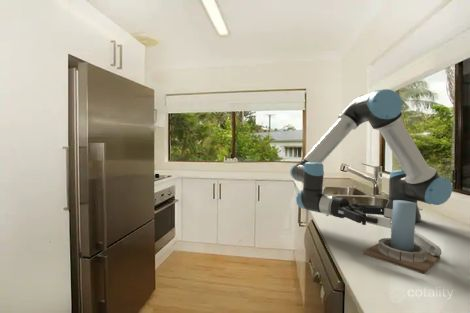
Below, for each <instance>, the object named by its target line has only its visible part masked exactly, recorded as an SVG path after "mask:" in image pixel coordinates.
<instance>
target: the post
mask: <svg viewBox="0 0 470 313" xmlns="http://www.w3.org/2000/svg"><path fill="white" fill-rule="evenodd" d="M415 217H416V203H414V202H410V201H404V200H393V212H392V219H391V223H392V229H391V228H390V230H391V231H390V238H391V245H390V247H391V248H394V249H397V250H400V251H407V252H413V248H414V243H415V242H414V233H415V231H416V222H415Z"/></svg>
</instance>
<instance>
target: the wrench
mask: <svg viewBox="0 0 470 313" xmlns="http://www.w3.org/2000/svg"><path fill="white" fill-rule="evenodd" d="M391 220H392V218H391ZM391 229H392V222H391V228H390V230H391ZM414 243H417V244H419V245H421V246H423V247H425V248H426V250H427V252H429V253H430V254H431V255H433V256H440V257H441V255H442V248H441V247H440V246H439V245H437V244H435V242H433V241H431V240H429V239H428V238H426V237H425V236H424V235H422V234H420V233H419V232H417V231H416V230H415V233H414Z"/></svg>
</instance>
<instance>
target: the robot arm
mask: <svg viewBox="0 0 470 313" xmlns="http://www.w3.org/2000/svg"><path fill="white" fill-rule="evenodd" d="M403 105H404V104H403V99H402V97H401V96H400V95H399V94H398V92H396V91H394V90H392V89H389V88H388V89H387V88H386V89H377V90H375V91H371V92H369V93H366V94H362V95H359V96H357V97H355V98H354V99H353V100H351V102H349V104H348V105H347V106H346V107H345V108H344V109H343V110H342V112H340V113H339V115H338V116H337V118H338V119H337V120H336V121H335V122H334V124H333V125H332V126H331V127H330V128H329V129H328V130H327V131H326V132H325V134H323V136H322V137H321V138H320V139H319V140H318V141H317V142H316V143H315V145H314V146H312V147H311V148H312V149H311V150H309V151H308V153H307V154H306V155H305V156H304V157H303V158H302V159H301V160H300V162H298V163H295V164H293V165H292V166H291V168H290V170H289V174H290V176H291V178H292V179H294V180H295V181H297V182H301V183H302V184H303V186H302V187H303V189H302V190H300V191H298V192H297V196H296V198H295V200H296V205H297V206H298V207H299V208H301V209H303V210H307V211H310V212H315V213H319V214H324V215H325V216H326V217H329V216H333V217H335V218H340V219H345V218H347V219H348V220H351V221H353V222H356V223H357V224H361V226H366V225H367V224H371V225H375V226H379V227H384V228H387V229H391V223H392V219H391V218H392V212H393V200H404V201H410V202H414V203H416V217H415V223H420V222H422V215H421V212H420V209H419V205H418V202H421V203H424V204H429V205H433V206H439V205H443V204H445V203H446V202H448V200H449V199H450V198H451V196H452V193H453V184H452V182H451V180H450V179H448V178H446V177H444V176H440V175H439V173H438V171H437V170H436V168H435V167H432V166H429V165H428V163H427V161H426V159H424V156H423V155H422V154H421V152H420V150H419V148H418V146H417V145H416V143H415V142H414V140H413V138H412V137H411V135H410V133H409V131H408V130H407V128H406V126H405V125H404V123H403V121H402V120H401V119H402V117H403V112H402V110H403ZM365 122H366V123H367V122H368V123H369V124H370V126H371V128H372V129H373V130H375V131H376V130H377V131H379V132H380V134H381V136H382V138H383V139H384V141H385V143H386V144H387V145H388V147H389V149H390V150H391V152H392V154H393V156H394V158H396V160H397V162H398V163H399V165H400V166H401V169H402V170H400V169H399V170H396V169H395V170H392V171H390V173H389V178H388V183H389V184H388V201H387V202H386V205H383V206H382V205H371V204H362V203H358V202H356V203H350V202H349V200H348V198H346V197H343V196H337V195H333V194H327V193H323V194H322V191H323V185H324V176H325V172H324V164H323V163H324V161H325V160H327V158H328V157H329V156H330V155H331V153H333V151H334V150H335V149H336V148H337V147H338V146H339V145H340V144H341V143H342V142H343V141H344V139H345V138H346V137H347V136H348V135H349V134H350V132H351V131H352V130H356V129H357V128H358V127H359V126H360V125H361V124H364V123H365ZM323 192H324V191H323Z"/></svg>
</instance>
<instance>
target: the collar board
mask: <svg viewBox="0 0 470 313" xmlns="http://www.w3.org/2000/svg"><path fill="white" fill-rule="evenodd" d="M390 245H391V237H385V238H380V239H379V240H378V243H376V244H374V245H372V246H370V247H368V248H365V249H364V250H363V254H364V255H367V256H370V257H373V258H376V259H379V260H382V261H385V262H388V263H391V264H394V265H398V266H401V267H403V268H406V269H409V270H412V271H415V272H418V273H421V274H426V273H427V272H428V271H429V270H431V268H432V267H433V266H434V265H435V264H436V263H437V262H438V261H439V260H440V259H441V255H440V256H433V255H431V254H430V253H429V252H427V250H426V248H425V247H423V246H421V245H419V244H417V243H416V242H414V248H413V252H407V251H400V250H397V249H394V248H391V247H390Z"/></svg>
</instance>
